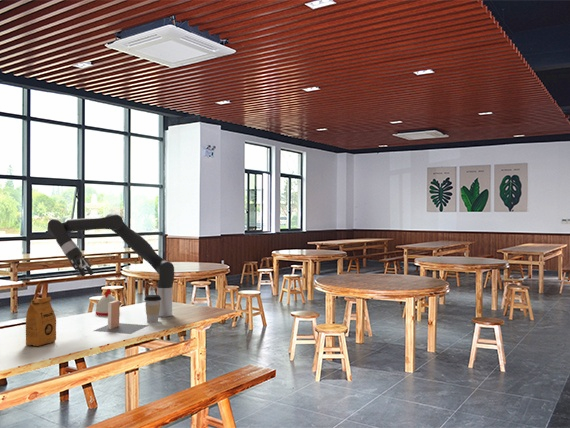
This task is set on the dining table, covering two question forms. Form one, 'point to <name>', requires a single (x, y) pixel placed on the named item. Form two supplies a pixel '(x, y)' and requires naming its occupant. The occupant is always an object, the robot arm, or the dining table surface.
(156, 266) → the robot arm
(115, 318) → the tile
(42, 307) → the coffee package
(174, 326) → the dining table surface
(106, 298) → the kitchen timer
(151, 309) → the coffee cup
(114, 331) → the mat
